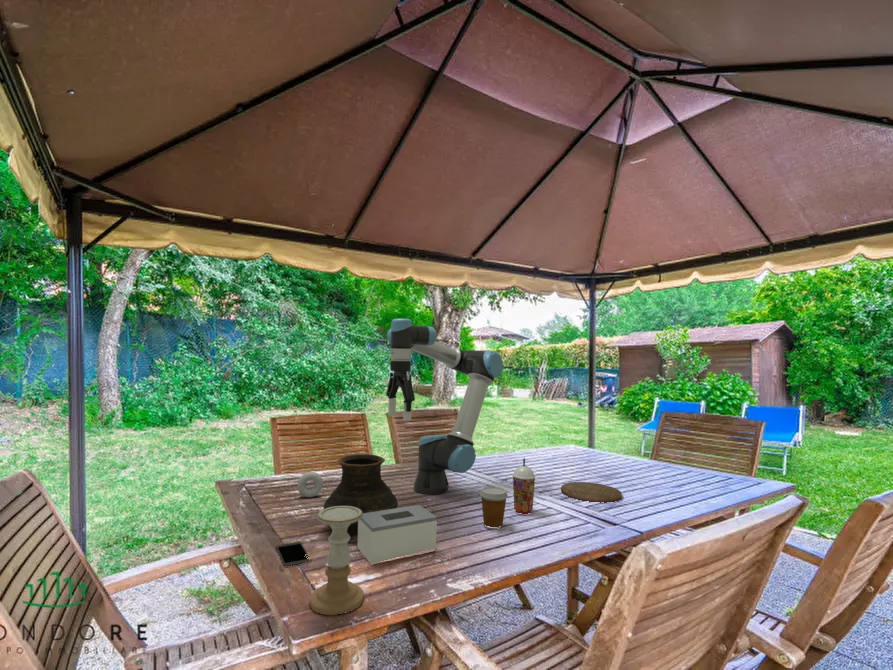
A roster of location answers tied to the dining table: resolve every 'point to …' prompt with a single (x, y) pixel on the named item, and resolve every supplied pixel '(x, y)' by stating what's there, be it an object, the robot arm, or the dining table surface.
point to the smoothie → (523, 489)
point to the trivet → (591, 492)
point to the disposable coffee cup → (493, 505)
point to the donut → (305, 478)
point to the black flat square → (292, 553)
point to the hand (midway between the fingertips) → (399, 418)
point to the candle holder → (338, 565)
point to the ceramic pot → (362, 486)
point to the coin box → (396, 533)
